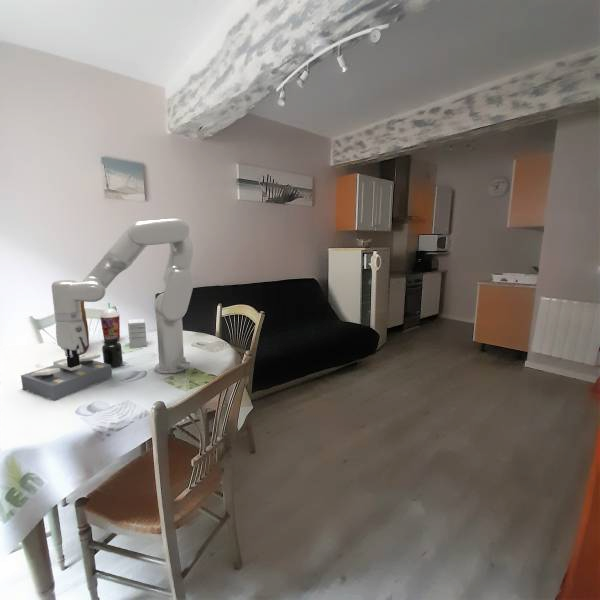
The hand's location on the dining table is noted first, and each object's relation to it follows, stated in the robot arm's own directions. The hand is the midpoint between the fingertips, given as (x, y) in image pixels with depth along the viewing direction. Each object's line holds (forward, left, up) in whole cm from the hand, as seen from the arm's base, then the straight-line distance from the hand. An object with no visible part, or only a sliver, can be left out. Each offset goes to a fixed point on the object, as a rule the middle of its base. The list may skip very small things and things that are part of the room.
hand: (73, 366), depth 113 cm
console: (+4, 0, -7) cm, 8 cm away
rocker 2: (+4, 0, 0) cm, 4 cm away
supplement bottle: (+5, -18, -7) cm, 20 cm away
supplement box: (+17, -40, -7) cm, 44 cm away
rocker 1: (+4, +7, 0) cm, 8 cm away
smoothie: (+33, -38, -7) cm, 51 cm away
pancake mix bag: (+34, -24, -7) cm, 42 cm away
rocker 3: (+4, -7, 0) cm, 8 cm away
